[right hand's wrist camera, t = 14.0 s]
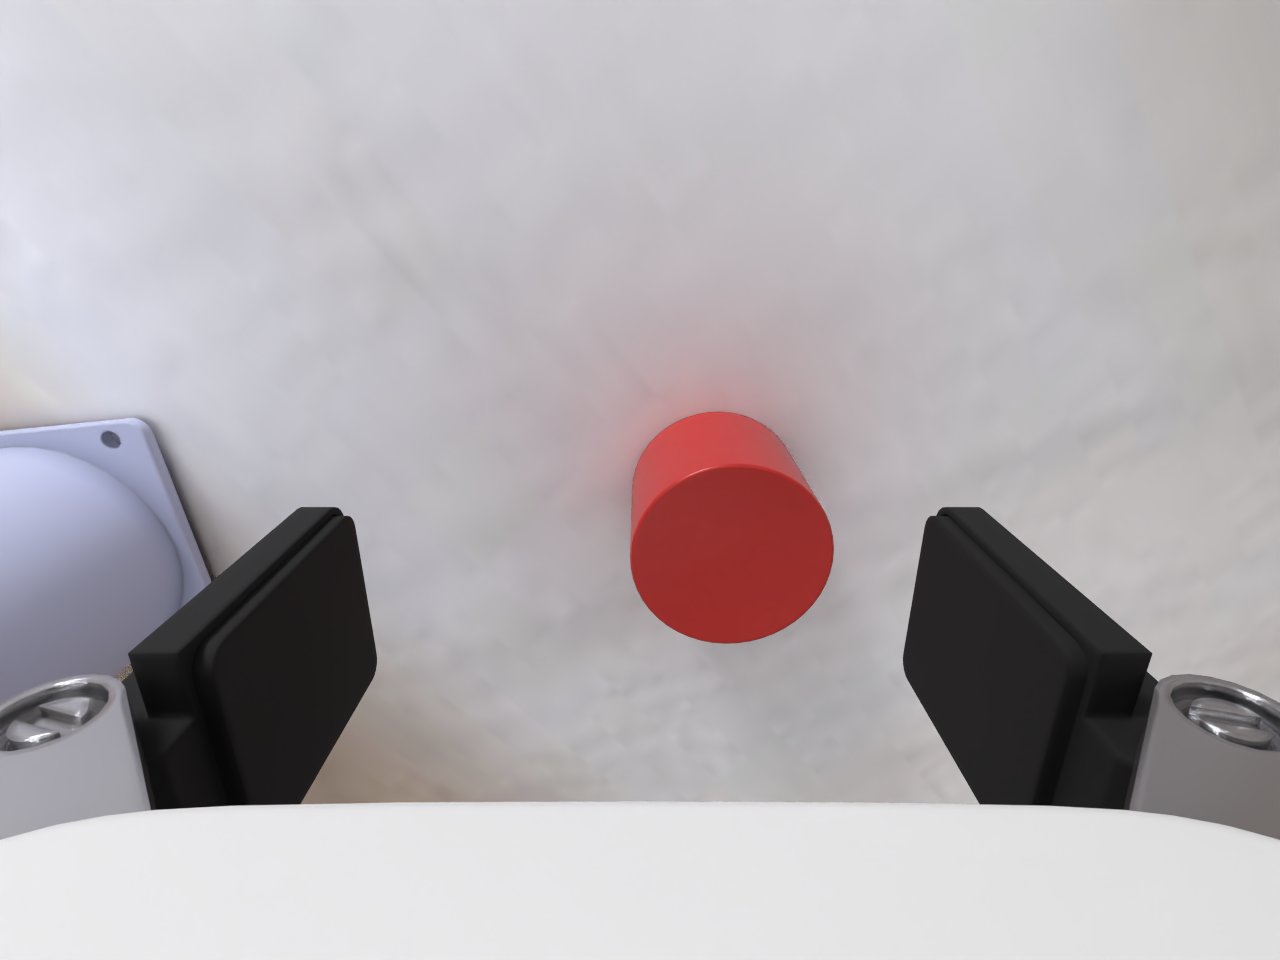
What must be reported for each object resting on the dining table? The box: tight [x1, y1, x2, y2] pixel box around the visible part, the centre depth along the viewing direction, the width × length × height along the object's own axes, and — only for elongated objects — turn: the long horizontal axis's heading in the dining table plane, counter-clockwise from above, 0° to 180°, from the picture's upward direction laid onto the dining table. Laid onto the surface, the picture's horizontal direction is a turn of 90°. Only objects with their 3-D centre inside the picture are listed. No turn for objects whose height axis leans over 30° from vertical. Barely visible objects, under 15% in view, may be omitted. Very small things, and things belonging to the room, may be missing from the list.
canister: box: [630, 412, 834, 644], centre depth 18 cm, size 5×5×4 cm
